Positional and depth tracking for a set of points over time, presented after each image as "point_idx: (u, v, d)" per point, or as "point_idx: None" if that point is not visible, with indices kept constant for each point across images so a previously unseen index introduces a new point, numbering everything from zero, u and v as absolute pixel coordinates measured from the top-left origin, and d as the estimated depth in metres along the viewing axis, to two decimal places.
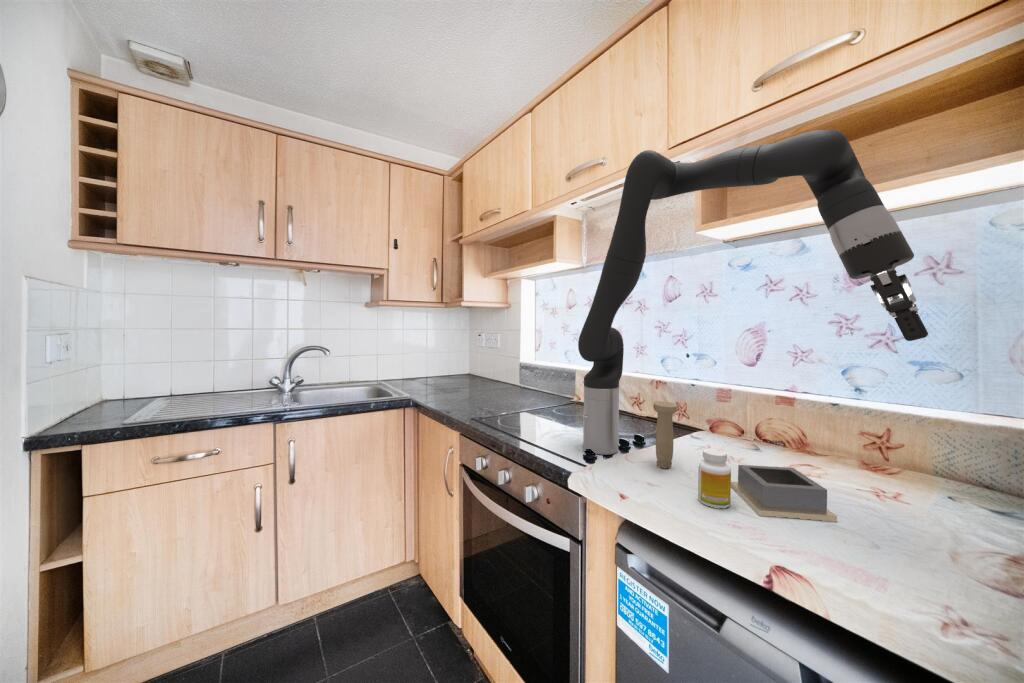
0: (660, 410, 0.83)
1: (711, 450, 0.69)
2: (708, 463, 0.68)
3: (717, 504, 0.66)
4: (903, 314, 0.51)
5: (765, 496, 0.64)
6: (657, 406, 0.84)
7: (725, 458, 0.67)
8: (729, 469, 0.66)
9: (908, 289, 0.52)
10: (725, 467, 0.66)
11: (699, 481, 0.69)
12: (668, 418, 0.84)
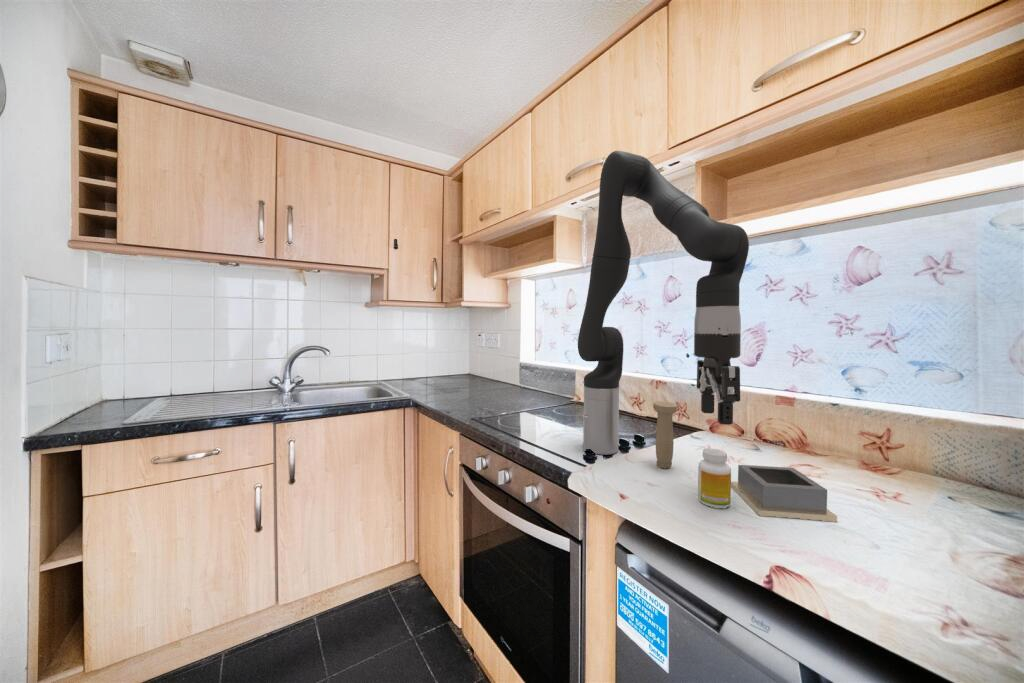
0: (660, 410, 0.83)
1: (711, 450, 0.69)
2: (708, 463, 0.68)
3: (717, 504, 0.66)
4: (727, 403, 0.62)
5: (765, 496, 0.64)
6: (657, 406, 0.84)
7: (725, 458, 0.67)
8: (729, 469, 0.66)
9: None
10: (725, 467, 0.66)
11: (699, 481, 0.69)
12: (668, 418, 0.84)
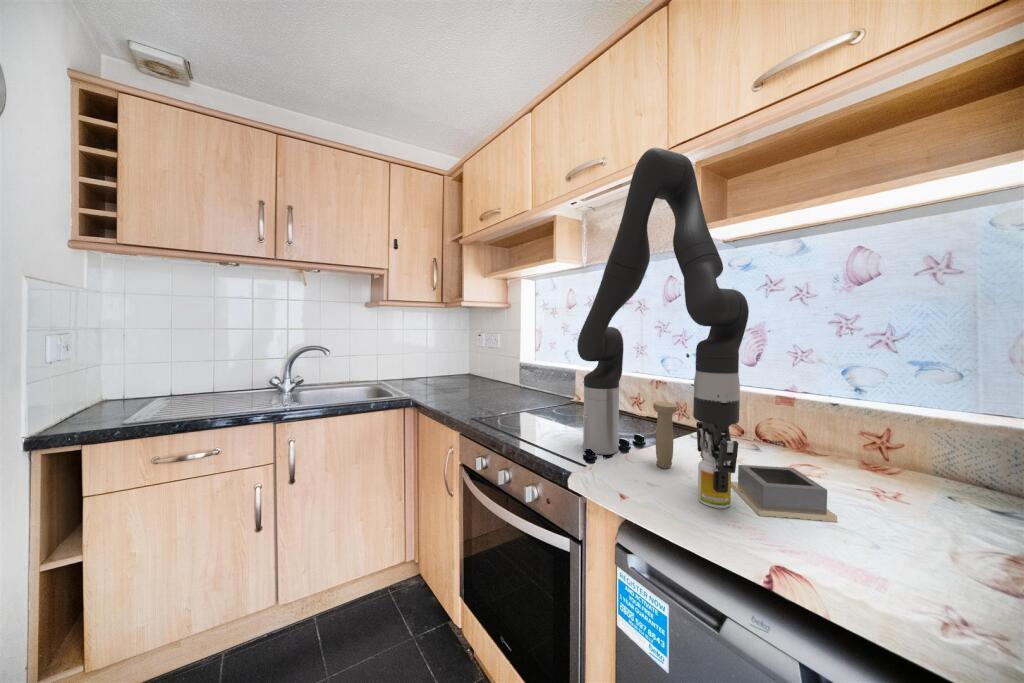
0: (660, 410, 0.83)
1: None
2: (708, 463, 0.68)
3: (717, 504, 0.66)
4: (723, 473, 0.64)
5: (765, 496, 0.64)
6: (657, 406, 0.84)
7: None
8: None
9: None
10: None
11: (699, 481, 0.69)
12: (668, 418, 0.84)
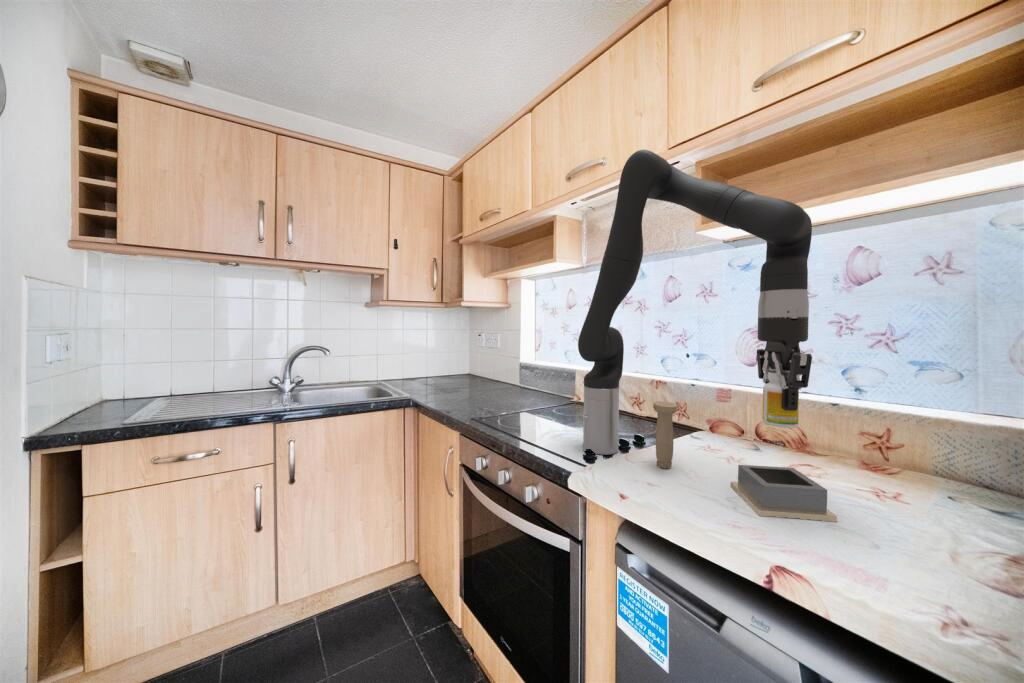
0: (660, 410, 0.83)
1: (776, 372, 0.68)
2: (775, 383, 0.67)
3: (786, 423, 0.65)
4: (793, 390, 0.63)
5: (765, 496, 0.64)
6: (657, 406, 0.84)
7: None
8: None
9: None
10: None
11: (765, 403, 0.68)
12: (668, 418, 0.84)
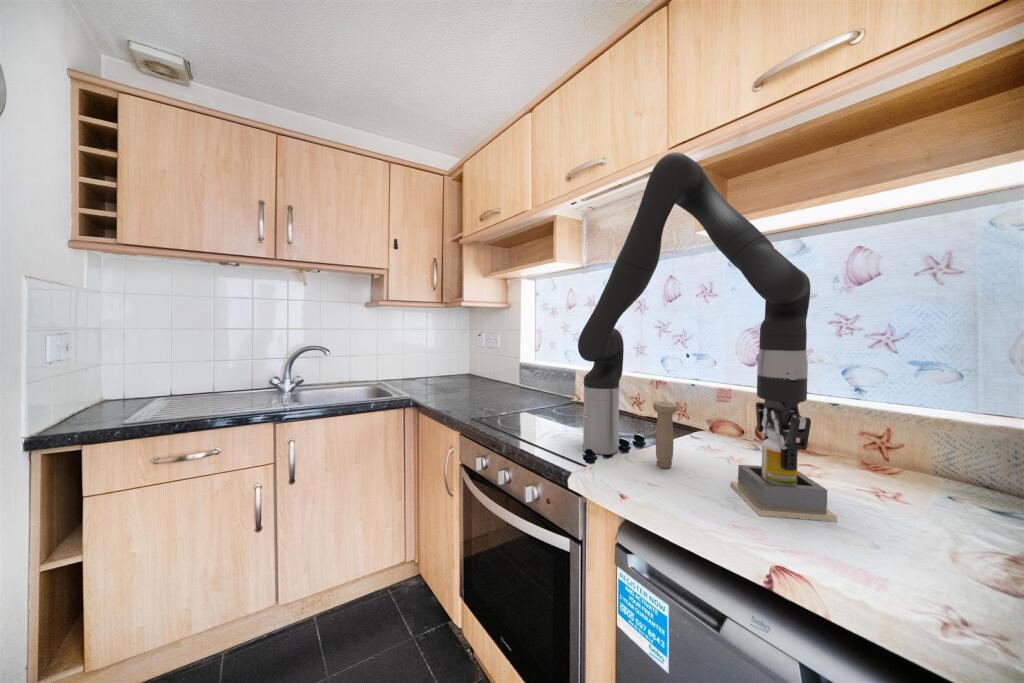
0: (660, 410, 0.83)
1: None
2: (774, 441, 0.67)
3: (785, 482, 0.66)
4: (792, 451, 0.64)
5: (765, 496, 0.64)
6: (657, 406, 0.84)
7: None
8: None
9: None
10: None
11: (764, 460, 0.69)
12: (668, 418, 0.84)
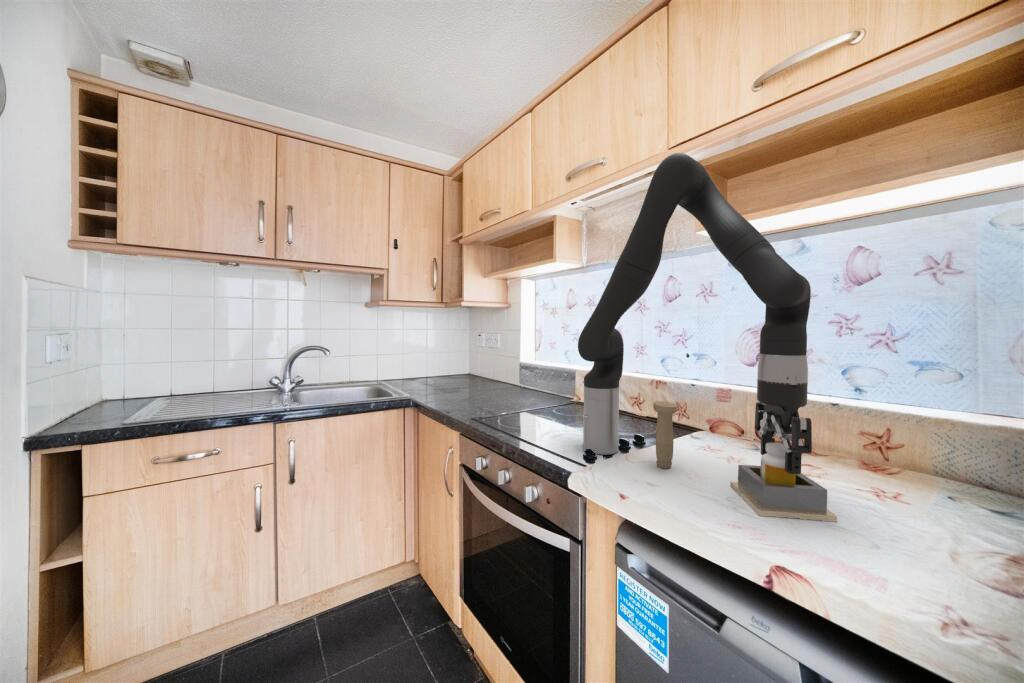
0: (660, 410, 0.83)
1: (774, 444, 0.69)
2: (773, 457, 0.68)
3: None
4: (797, 454, 0.63)
5: (765, 496, 0.64)
6: (657, 406, 0.84)
7: None
8: None
9: None
10: None
11: (762, 475, 0.69)
12: (668, 418, 0.84)
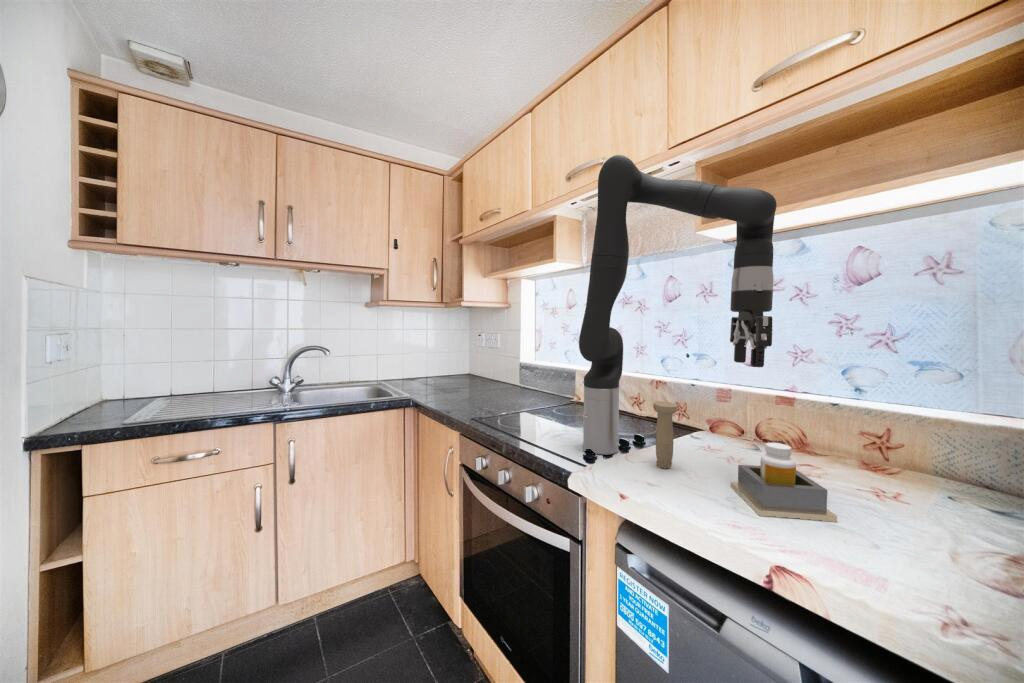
0: (660, 410, 0.83)
1: (773, 444, 0.69)
2: (772, 456, 0.68)
3: None
4: (760, 349, 0.73)
5: (765, 496, 0.64)
6: (657, 406, 0.84)
7: (790, 452, 0.67)
8: (794, 463, 0.67)
9: None
10: (791, 461, 0.67)
11: (762, 475, 0.69)
12: (668, 418, 0.84)
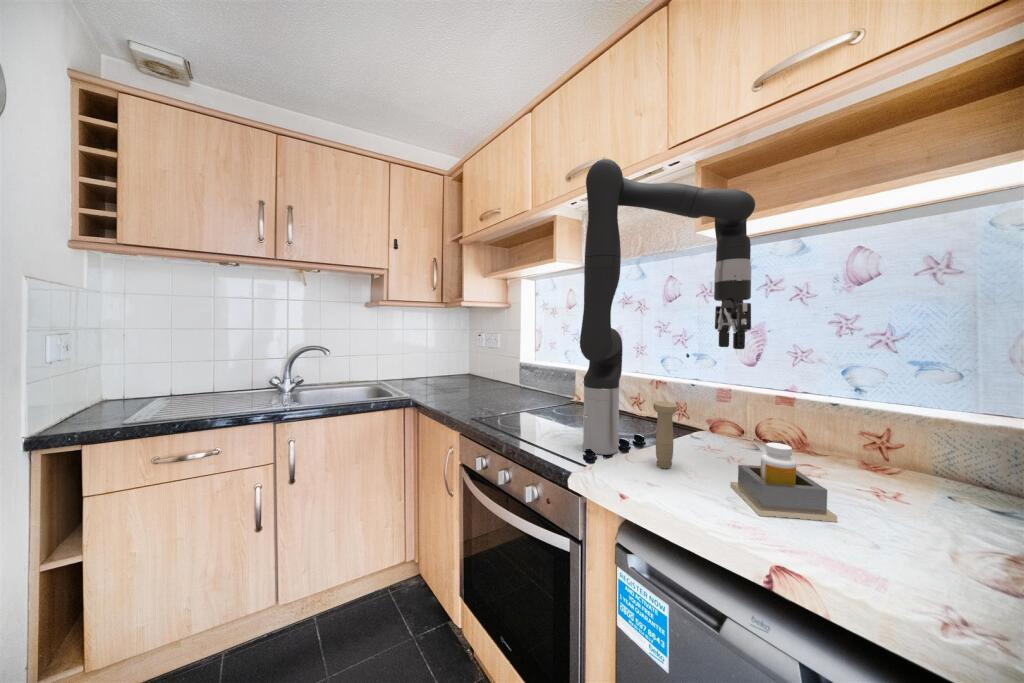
0: (660, 410, 0.83)
1: (774, 444, 0.69)
2: (773, 457, 0.68)
3: None
4: (741, 332, 0.82)
5: (765, 496, 0.64)
6: (657, 406, 0.84)
7: (791, 452, 0.67)
8: (795, 463, 0.67)
9: None
10: (791, 461, 0.66)
11: (763, 475, 0.69)
12: (668, 418, 0.84)
